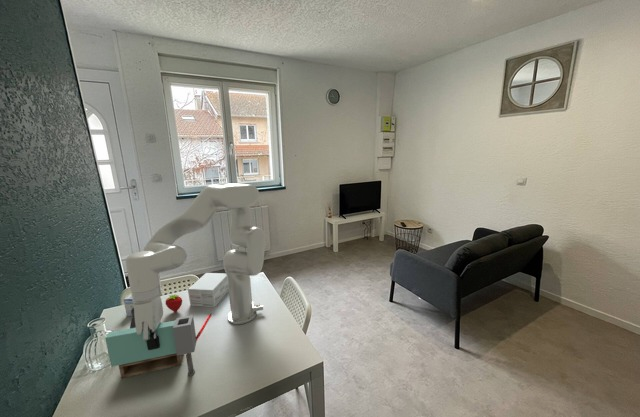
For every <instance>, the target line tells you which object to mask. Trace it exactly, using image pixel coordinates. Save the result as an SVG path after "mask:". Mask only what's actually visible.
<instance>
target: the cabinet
mask: <svg viewBox="0 0 640 417" xmlns="http://www.w3.org/2000/svg"><path fill="white" fill-rule="evenodd" d="M184 356H185V359H186V364H187V376H190V377H191V376H193V375H194V374H195V373H196V370H195V368H194V362H193V357H192V353H187V354H182V355H178V356H177V353H175V354H170V355H165V356H161V357H156V358H151V359H146V360H142V361H137V362H132V363H127V364H122V365H118V369H119V374H120V378H121V379H124V377H125V378H129V377H133V376H132V375H134V376H139V375H143V374H146V373H151V372H155V371H158V370H163V369H168V368H173V367H178V366H182V363H183V360H184ZM128 376H129V377H128Z"/></svg>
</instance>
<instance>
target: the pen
mask: <svg viewBox="0 0 640 417" xmlns="http://www.w3.org/2000/svg"><path fill="white" fill-rule="evenodd" d="M211 317H212V313H210V314H209V315H208V317H207V318H206V319H205V321H204V324H202V326H201V328H200V330H199V331H198V333H197V334H196V341H198V339H199V337H200V336H201V334H202V332H203V330H204V329H205V327H206V326H207V323H208V322H209V320H210V318H211Z"/></svg>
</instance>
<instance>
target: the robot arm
mask: <svg viewBox="0 0 640 417" xmlns="http://www.w3.org/2000/svg"><path fill="white" fill-rule="evenodd" d="M259 197H260V191H259V189H258V188H257V187H256V186H255V185H253V184H248V183H247V184H246V183H225V184H223V185H222V184H209V185H206V186H205V187H204V188H203V189H202V190H201V191H200V192H199V193H198V194H197V196H196V197H195V198H194V199H193V201H192V202H191V203H190V204H189V205H188V207H187V208H186V209H185V211H184V212H182V213H181V214H180V215H178V216H176V217H175V218H173V219H172V220H170V221H169V222H168V223H166V224H164V225H162V227H161V228H159V229H158V230H157V231H156V232H155V233H154V234H153V235H152V237H151V238H150V239H149V241H148V242H147V243H146V245H145V247H144V249H143V250H142V251H137V252H134V253H131V254H129V255H128V256H127V257H126V259H125V266H126V272H127V277H128V282H129V283H128V284H129V288H130V294H131V295H132V301H133V302H134V303H135V304H134V316H135V325H136V333H137V335H140V334H141V333H142V331H143V340H146V342H147V347H148V350H153V349H158V348H160V342H159V336H157V332H156V329H157V327H158V325H159V323H162V322H161V320H162V318H163V316H164V307H163V302H162V298H161V296H162V294H163V290H162V283H161V278H160V273H164V272H168V271H172V270H175V269H178V268H180V267H181V266H182V265H184V264H185V262H186V260H187V256H188V254H187V251H186V250H185V249H184V248H183V247H181V246H179V245H175V244H174V243H176V241H177V240H178V239H181V238H182V237H183V236H186V235H189V234H191V233H194V232H197V231H201V230H202V229H204V228H206V226H207V225H208V223H209V222H210V221H211V219H213V217H214V215H215V214H216V212H217V211H218V209H225V210H226V209H227V210H230V214H231V216H230V217H231V219H230V227H229V228H230V229H229V238H228V239H229V242H230V245H232V246H235V247H239V248H244V249H247V250H243V249H238V248H237V249H236V248H235V249H230V250H228V251H227V252H226V253H224V254H223V255H224V256H223V260H222V264H223V265H222V266H223V268H224V271H225V273H226V275H227V280H228V289H229V291H228V297H229V306H230V311H229V312H228V314H227V321H228V322H229V323H231V324H233V325H243V324H246V323H249V322H251V321H252V320H254V319H255V318H256V316H257V314H258V313H257V312H258V311H263V310H264V305H261V304H260V303H257V304H255V303H254V301H253V296H252V295H253V294H252V282H251V277H255V276H257V275H259V274H260V273H261V271H262V268H263V266H264V260H265V252H266V251H265V250H266V241H267V240H266V234H265V231H264V230H263V229H262V228H261V227H258V226H253V225H252V219H253V218H252V217H253V216H252V215H253V213H252V208H251V206H254V205H255V204H256V203H257V202H258V201H259ZM149 332H153V334H152V333H151V334H150V333H149Z"/></svg>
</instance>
